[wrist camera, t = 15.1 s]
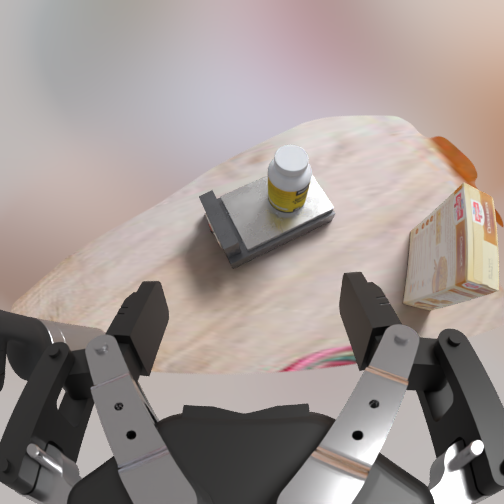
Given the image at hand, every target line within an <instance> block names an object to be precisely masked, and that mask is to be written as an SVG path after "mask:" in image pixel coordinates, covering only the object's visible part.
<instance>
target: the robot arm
mask: <svg viewBox="0 0 504 504" xmlns="http://www.w3.org/2000/svg"><path fill="white" fill-rule="evenodd" d="M339 309H340V315H341V318H342V321H343V323H344V326H345V329H346V332H347V335H348V338H349V341H350V344H351V346H352V349H353V352H354V355H355V358H356V361H357V364H358V368H359V370H360V371H361V370H365V371H364V372H363V374H362V376H361V378H360V380H359V382H358V384H357V386H356V387H355V389H354V391H353V393H352V394H351V396H350V398H349V399H348V401H347V403H346V404H345V406H344V408H343V409H342V411H341V413H340V414H339V416H338V418H337V419H336V420H335V419H333V418H331V417H329V416H326V415H323V414H319V413H315V412H309V405H308V404H298V405H284V406H275V407H271V408H268V409H264V410H260V411H256V412H252V413H246V414H242V413H238V412H233V411H229V410H225V409H221V408H217V407H210V406H189V405H184V407H183V413H181V414H177V415H172V416H169V417H167V418H164V419H162V420H161V421H159V420H158V418H157V416H156V415H155V413H154V411H153V410H152V407H151V406H150V404H149V402H148V400H147V398H146V396H145V394H144V392H143V390H142V388H141V386H140V384H139V382H138V379H139V376H140V375H143V376H149V375H150V373H151V370H152V367H153V364H154V361H155V358H156V355H157V352H158V349H159V346H160V343H161V340H162V338H163V335H164V332H165V329H166V326H167V324H168V320H169V310H168V306H167V303H166V299H165V296H164V292H163V289H162V285H161V283H160V282H159V281H144V282H142V284H141V285H140V287H139V289H138V291H137V292H133V293H132V294H131V295H130V296H129V297H127V298H126V299H125V301H124V302H123V304H122V306H121V308H120V309H119V311H118V313H117V314H116V316H115V318H114V320H113V321H112V323H111V325H110V327H109V328H108V330H107V332H106V333H105V332H103V331H102V330H100V329H97V328H91V327H85V326H78V325H72V324H65V323H59V322H54V321H48V320H42V319H37V318H32V317H27V316H23V315H19V314H15V313H10V312H6V311H3V310H0V391H1V390H2V388H3V385H4V378H5V364H6V354H7V357H8V360H9V363H10V365H11V367H12V368H13V370H14V371H15V373H16V374H17V375H18V376H19V377H20V378H22V379H24V380H27V381H28V382H27V384H26V386H25V388H24V390H23V392H22V394H21V396H20V398H19V400H18V402H17V404H16V406H15V408H14V410H13V413H12V415H11V417H10V420H9V422H8V424H7V427H6V429H5V432H4V434H3V436H2V439H1V442H0V482H2V483H3V484H5V485H6V486H8V487H10V488H11V489H13V490H15V491H16V492H17V493H19V494H20V495H22V496H24V497H26V498H28V499H29V500H31V501H34V502H35V503H37V504H476V503H478V502H480V501H482V500H484V499H486V498H488V497H490V496H492V495H493V494H495V493H497V492H499V491H501V490H502V489H504V408H503V405H502V403H501V401H500V399H499V397H498V395H497V392H496V390H495V388H494V386H493V384H492V382H491V380H490V378H489V377H488V375H487V373H486V371H485V369H484V367H483V365H482V363H481V361H480V360H479V358H478V356H477V354H476V353H475V351H474V349H473V347H472V346H471V344H470V342H469V341H468V339H467V337H466V336H465V335H464V334H463V333H461V332H460V331H458V330H455V329H445V330H443V331H442V332H441V333H440V334H439V336H438V338H437V339H431V338H420V337H419V336H418V334H417V332H416V331H415V330H414V329H412V328H411V327H409V326H406V325H402V324H401V322H400V320H399V318H398V317H397V315H396V313H395V311H394V310H393V308H392V306H391V305H390V304H389V301H388V299H387V298H386V297H385V294H384V293H383V291H382V290H381V288H380V287H378V286H377V285H376V284H374V283H373V282H367V281H366V279H365V277H364V276H363V274H362V272H351V273H344V275H343V279H342V287H341V295H340V302H339ZM62 387H63V389H64V390H65V391H66V392H65V395H64V397H63V400H62V402H61V404H60V407H59V409H57V399H58V396H59V394H60V392H61V390H62ZM406 390H416V392H417V394H418V397H419V400H420V403H421V406H422V409H423V412H424V416H425V419H426V422H427V425H428V429H429V432H430V435H431V439H432V442H433V446H434V450H435V454H436V458H437V459H436V460H435V461H434V462H433V464H432V466H431V469H430V483H429V486H428V487H427V486H426V485H425V484H424V483H422V482H421V481H419V480H418V479H416V478H415V477H413V476H412V475H410V474H409V473H408V472H406V471H405V470H403V469H402V468H400V467H399V466H397V465H396V464H395V463H393V462H392V461H390V460H389V459H388V458H386V457H385V456H384V455H382V454H381V453H380V452H379V451H380V449H381V447H382V445H383V443H384V441H385V439H386V437H387V435H388V433H389V430H390V428H391V426H392V424H393V421H394V419H395V417H396V414H397V412H398V409H399V407H400V405H401V402H402V399H403V397H404V394H405V391H406ZM94 403H95V405H96V409H97V412H98V415H99V418H100V421H101V424H102V427H103V429H104V432H105V434H106V437H107V440H108V442H109V445H110V447H111V450H112V452H113V455H114V456H113V457H112V458H110V459H109V460H108V461H106V462H105V463H104V464H102V465H101V466H100V467H98V468H97V469H96V470H94V471H93V472H91V473H90V474H88V475H87V476H85V477H84V478H83V479H82V478H81V477H80V476H79V469H78V467H77V465H76V461H77V458H78V454H79V450H80V447H81V443H82V440H83V437H84V433H85V430H86V427H87V424H88V421H89V417H90V414H91V411H92V408H93V405H94Z"/></svg>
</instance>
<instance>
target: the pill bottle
mask: <svg viewBox="0 0 504 504" xmlns="http://www.w3.org/2000/svg"><path fill="white" fill-rule="evenodd" d="M308 162H309V158H308V154H307V153H306V151H305V150H304V149H302V148H301V147H299V146H296V145H285V146H282V147H280V148H279V149H278V150H277V151H276V153H275V157H274V159H273V160H272V161H271V163H270V165H269V167H268V200H269V203H270V205H271V206H272V207H273V208H274V209H275V210H277V211H278V212H281V213H285V214H290V213H294V212H297V211H299V210H300V209H301V208H302V207H303V205H304V204H305V201H306V197H307V193H308V189H309V185H310V181H311V177H312V170H311V167H310V165H309V163H308Z"/></svg>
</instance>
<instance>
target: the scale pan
mask: <svg viewBox="0 0 504 504" xmlns="http://www.w3.org/2000/svg"><path fill="white" fill-rule="evenodd" d="M221 200H222V202H223V204H224V206H225V208H226V210H227V212H228V213H229V215H230V217H231V219H232V221H233V223H234V225H235V227H236V229H237V231H238V233H239V235H240V237H241V239H242V241H243V243H244V245H245V247H246V249H247V251H248V252H249V251H251V250H253V249H255V248H257V247H259V246H261V245H263V244H265V243H267V242H269V241H271V240H273V239H275V238H278V237H280V236H282V235H284V234H286V233H288V232H290V231H292V230H294V229H296V228H298V227H300V226H302V225H305V224H307V223H309V222H311V221H313V220H315V219H317V218H319V217H321V216H323V215H325V214H327V213H330V212H332V211H333V209H334V207H333V205H332V204H331V202H330V201H329V199H328V198H327V196H326V195H325V193H324V192H323V190H322V189H321V187H320V186H319V184H318V183H317V181H316V180H315V179H314V177H313V176H312V177H311V181H310V185H309V189H308V193H307V197H306V201H305V204H304V205H303V207H302V208H301V209H300V210H299V211H297V212H294V213H290V214H285V213H281V212H278V211H277V210H275V209H274V208H273V207H272V206H271V205H270V203H269V200H268V176H266V177H263V178H261V179H259V180H256V181H254V182H252V183H249V184H247V185H245V186H243V187H240V188H238V189H236V190H234V191H232V192H229V193H227V194H225V195H223V196H221Z"/></svg>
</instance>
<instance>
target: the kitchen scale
mask: <svg viewBox="0 0 504 504" xmlns="http://www.w3.org/2000/svg"><path fill="white" fill-rule="evenodd" d="M199 198H200V200H201V202H202V205H203V207H204V209H205V211H206V213H205V215H206V218H207V220H208V222H209V227H210V230H211V232H212V234H213V233H214V235H215V237H216V239H217V241H218V243H219V245H220V247H221V248H223V249H224V251H225V253H226V255H227V257H228V259H229V262H230V264H231V266H232V268H233V269H234V268H236V267H238V266H240V265H242V264H244V263H246V262H248V261H250V260H252V259H254V258H256V257H258V256H260V255H262V254H265V253H267V252H269V251H271V250H273V249H275V248H277V247H279V246H281V245H283V244H285V243H287V242H289V241H291V240H293V239H295V238H297V237H299V236H301V235H303V234H305V233H308V232H310V231H312V230H314V229H316V228H318V227H320V226H322V225H324V224H326V223H328V222H330V221H332V219H333V217H334V215H335V212H334V211H332V212H330V213H327V214H325V215H323V216H321V217H319V218H317V219H315V220H313V221H311V222H309V223H307V224H305V225H302V226H300V227H298V228H296V229H294V230H292V231H290V232H288V233H286V234H284V235H282V236H280V237H278V238H275V239H273V240H271V241H269V242H267V243H265V244H263V245H261V246H259V247H257V248H255V249H253V250H251V251H249V252H248V251H247V249H246V247H245V245H244V243H243V241H242V239H241V237H240V235H239V233H238V231H237V229H236V227H235V225H234V223H233V221H232V219H231V217H230V215H229V213H228V212H227V210H226V208H225V206H224V204H223V202H222V200H221V198H218V199H216V197H215V195H214V193H213V191H210V192H208V193H206V194H203V195H201V196H199Z"/></svg>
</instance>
